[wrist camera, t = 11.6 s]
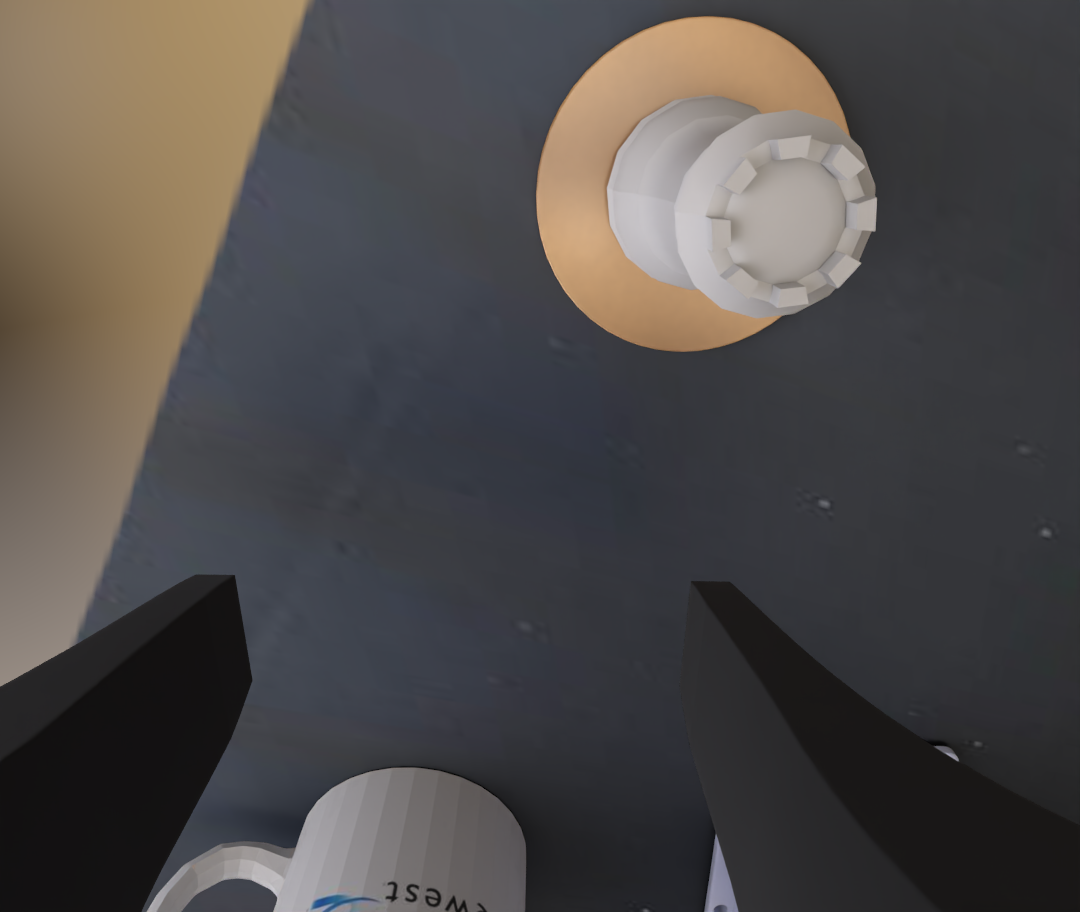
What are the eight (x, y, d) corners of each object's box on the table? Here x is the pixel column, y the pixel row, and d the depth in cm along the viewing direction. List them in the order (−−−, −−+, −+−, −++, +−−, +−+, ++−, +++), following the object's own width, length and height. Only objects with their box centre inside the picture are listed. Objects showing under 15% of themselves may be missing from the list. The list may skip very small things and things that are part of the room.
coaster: (820, 350, 21) (825, 354, 20) (534, 346, 21) (534, 350, 20) (875, 21, 17) (882, 18, 17) (538, 15, 17) (538, 12, 17)
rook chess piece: (596, 277, 19) (630, 357, 12) (614, 88, 18) (668, 46, 10) (764, 289, 20) (899, 376, 12) (799, 103, 18) (982, 72, 10)
